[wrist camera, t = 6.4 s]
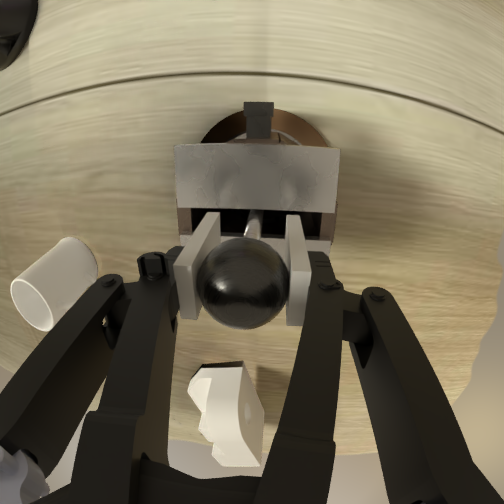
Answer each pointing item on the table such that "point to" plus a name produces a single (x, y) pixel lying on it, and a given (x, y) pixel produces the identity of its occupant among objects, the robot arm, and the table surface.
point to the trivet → (279, 122)
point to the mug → (54, 283)
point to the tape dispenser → (229, 412)
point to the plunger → (244, 277)
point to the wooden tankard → (258, 183)
